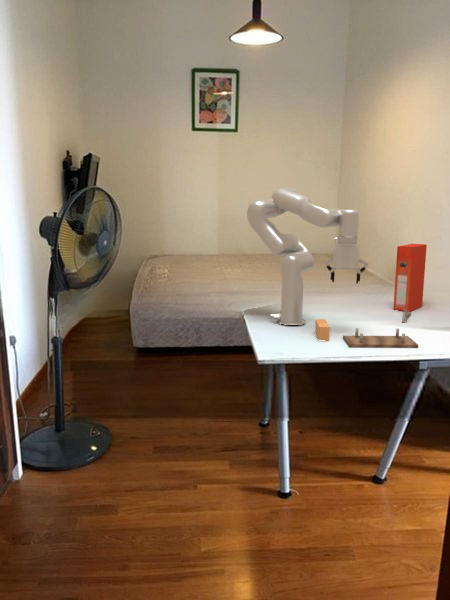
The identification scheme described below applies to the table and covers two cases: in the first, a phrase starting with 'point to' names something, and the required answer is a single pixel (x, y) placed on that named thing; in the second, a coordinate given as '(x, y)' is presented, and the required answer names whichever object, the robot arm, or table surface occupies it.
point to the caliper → (405, 315)
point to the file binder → (409, 277)
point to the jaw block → (322, 329)
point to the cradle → (379, 341)
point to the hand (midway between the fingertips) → (345, 282)
